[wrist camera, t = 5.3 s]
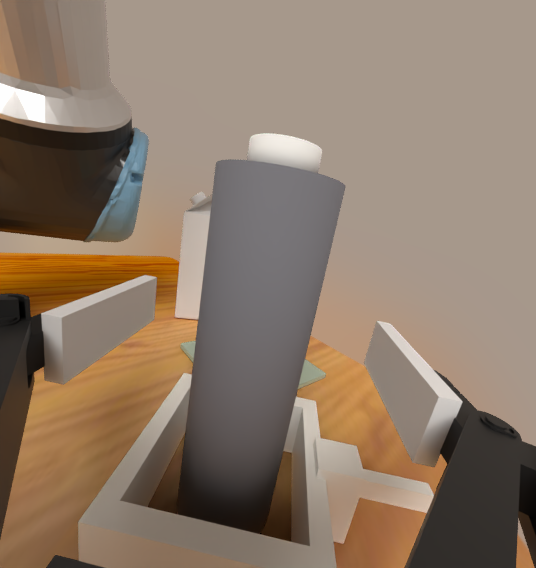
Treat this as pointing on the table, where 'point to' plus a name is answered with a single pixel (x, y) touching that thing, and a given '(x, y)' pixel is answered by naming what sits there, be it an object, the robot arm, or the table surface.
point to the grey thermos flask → (254, 325)
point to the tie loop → (222, 539)
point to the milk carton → (193, 257)
